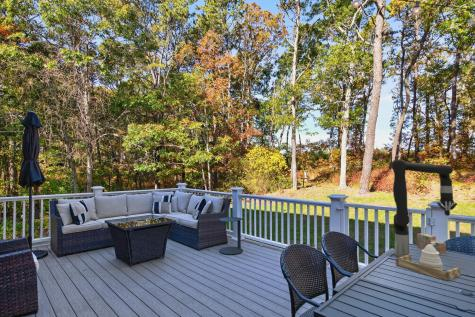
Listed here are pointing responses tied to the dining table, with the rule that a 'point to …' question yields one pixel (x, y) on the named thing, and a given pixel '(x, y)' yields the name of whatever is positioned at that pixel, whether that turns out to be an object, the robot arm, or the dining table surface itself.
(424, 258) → the honey pot
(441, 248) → the stack of blocks
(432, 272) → the oak bay
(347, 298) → the dining table surface
